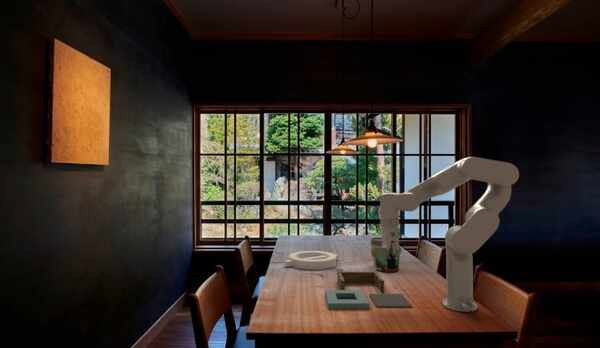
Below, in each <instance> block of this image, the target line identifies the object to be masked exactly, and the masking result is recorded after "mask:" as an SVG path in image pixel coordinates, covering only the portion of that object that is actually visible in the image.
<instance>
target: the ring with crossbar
mask: <svg viewBox="0 0 600 348" xmlns="http://www.w3.org/2000/svg"><path fill="white" fill-rule="evenodd" d="M337 260H340V255H339V254H337V253H332V252H329V251H323V250H303V251H296V252H292V253H290V254H289V255H288V259H287V260H284V262H283V263H284V264H283V265H284V266H286V267H293V268H297V269H300V270H301V269H302V270H325V269H330V268H333V267H335V266H336V265H337Z"/></svg>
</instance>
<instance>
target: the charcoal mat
mask: <svg viewBox="0 0 600 348" xmlns="http://www.w3.org/2000/svg"><path fill="white" fill-rule="evenodd" d="M369 298H370V299H371V301H372V302H373V303H374V306H375V305H376V306H375V307H376V308H377V307H382V308H413V305H412V304H411V302H410V301H409V300H408V299H407V298H406V297H405V296H404V295H403V294H402V293H369Z"/></svg>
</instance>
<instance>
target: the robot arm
mask: <svg viewBox="0 0 600 348" xmlns="http://www.w3.org/2000/svg"><path fill="white" fill-rule="evenodd" d="M519 172H520V171H519V169H518V167H517V166H515V165H514V164H512V163H510V162H506V161H499V160H496V159H495V160H494V159H489V158H482V157H476V156H469V157H465V158H461V159H460V160H458V161H456V162H455V163H453V164H451V165H449V166H447V167H446V168H444V169H442V170H441V171H439V172H437V173H436V174H434V175H432V176H430V177H428V178H427V179H426V180H424V181H422V182H420V183H418V184H416V185H415V186H413V187H412V188H409V189H408V190H406V191H404V192H402V193H396V192H382V193H381V194H380V198H379V199H380V203H379V204H380V208H379V209H380V215H379V217H380V220H379V221H380V222H379V223H380V225H379V226H380V227H381V228H382V229H381V238H382V247H383V248H384V249H387V251H388V252H389V251H390V250H389V249H392V251H391V252H392V253H391V254H390V252H389V254H388V259H387V268H388V269H395V268H396V251H397V252H398V251H399V246H400V237H399V227H400V211H403V212H414V211H416V210H417V209H418V208H419V207H420V204H422V203H423V202H425V201H429V200H430V199H432V198H435V197H437V196H438V197H439V196H442V195H446V194H447V193H449V192H451V191H453V190H454V189H456V188H458V187H460V186H461V185H463V184H465V183H467V182H469V181H470V180H474V181H479V182H484V183H487V188H486V190H485V192H484V193H483V194H482V195H481V197H480V198H479V199H478V200H477V201H476V202H475V203H474V204H473V205H472V206H471V207H470V208H469V209H468V211H466V213H465V216H464V219H465V220H464V221H465V222H464V223H463V225H454V226H453V225H452V226H451V227H450V228H448V229H447V231H446V232H445V237H444V243H445V244H444V245H445V255H446V256H445V258H446V263H445V264H446V265H445V268H446V269H445V271H446V273H445V274H446V276H445V277H446V283H445V286H446V290H445V292H446V295H445V297H446V298H444V299H443V300H442V303H441V304H442V305H443V307H444V308H446V309H449V310H452V311H457V312H461V311H462V313H463V312H465V313H471V312H470V311H472V312H475V311H477V310H478V304H477V303H475V302H474V281H473V279H474V273H473V272H474V263H473V262H474V261H473V259H474V258H473V254H474V253H476V252H477V251H478V250H479V249H480V248H481V247H482V246H483V245H484V244H485V243H486V242H487V241H489V239H490V238H491V236H492V235H494V233H495V232H496V231H497V229H498V228H499V225H500V217H499V214H501V213H500V212H502V211H503V209H504V208H505V207H506V206H507V204H508V203H509V202H510V199H511V195H512V185H515V183H516V182H517V181H518V180H519V177H520V173H519Z"/></svg>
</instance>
